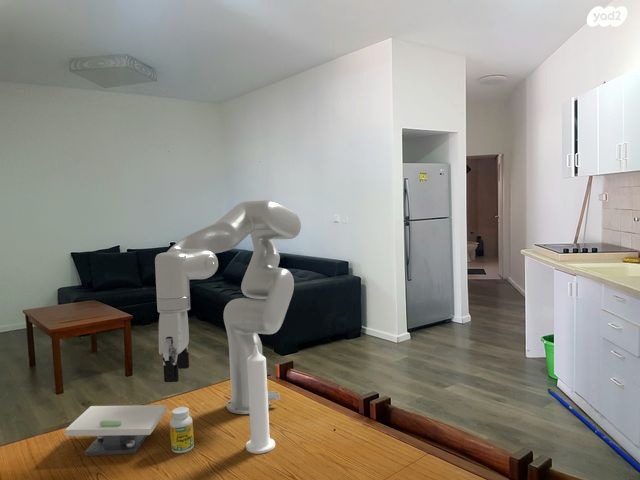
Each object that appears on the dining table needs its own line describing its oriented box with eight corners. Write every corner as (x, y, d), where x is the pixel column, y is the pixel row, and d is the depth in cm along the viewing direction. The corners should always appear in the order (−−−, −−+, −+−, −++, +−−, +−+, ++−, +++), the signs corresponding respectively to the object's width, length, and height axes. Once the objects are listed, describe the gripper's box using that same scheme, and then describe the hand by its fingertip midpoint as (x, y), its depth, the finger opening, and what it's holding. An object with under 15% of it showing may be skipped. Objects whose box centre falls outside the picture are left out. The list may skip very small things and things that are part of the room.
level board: (166, 410, 131) (166, 400, 131) (149, 434, 117) (149, 423, 117) (91, 411, 131) (90, 401, 131) (65, 436, 117) (64, 424, 117)
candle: (279, 441, 121) (275, 341, 119) (267, 455, 115) (262, 350, 113) (254, 438, 124) (249, 340, 122) (240, 451, 117) (235, 348, 115)
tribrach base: (152, 429, 131) (151, 413, 131) (135, 453, 118) (133, 436, 118) (106, 431, 131) (105, 415, 130) (84, 456, 118) (83, 438, 117)
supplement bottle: (190, 441, 123) (187, 403, 123) (197, 449, 119) (195, 410, 118) (168, 447, 120) (166, 409, 120) (175, 456, 116) (172, 416, 115)
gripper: (168, 298, 126) (171, 364, 127) (145, 311, 108) (149, 388, 109) (197, 297, 126) (200, 363, 127) (180, 310, 109) (183, 386, 110)
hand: (177, 374), depth 118 cm, fingers open, 9 cm apart
